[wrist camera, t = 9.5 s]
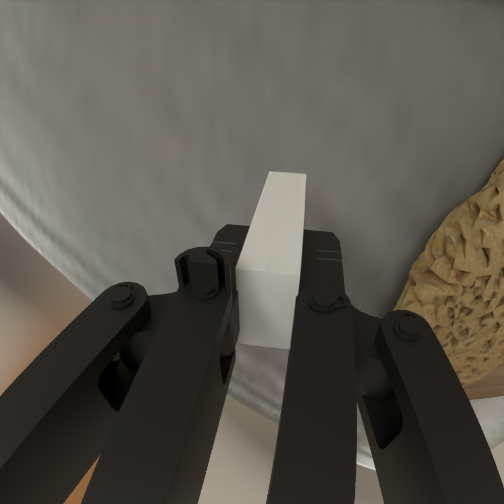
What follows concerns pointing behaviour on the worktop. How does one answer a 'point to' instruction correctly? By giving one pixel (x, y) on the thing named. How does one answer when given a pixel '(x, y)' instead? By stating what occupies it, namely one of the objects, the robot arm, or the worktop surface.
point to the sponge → (465, 283)
